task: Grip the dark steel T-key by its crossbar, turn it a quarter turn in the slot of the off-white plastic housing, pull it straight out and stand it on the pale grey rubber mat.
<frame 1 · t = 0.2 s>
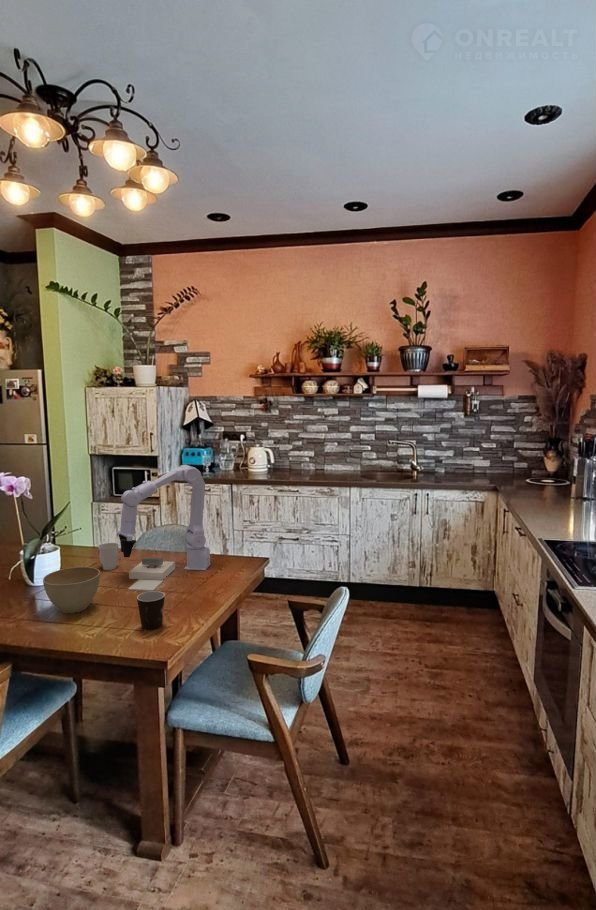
hand: (125, 554, 214), 10 cm above the table, tool pointing down, fingers open, 7 cm apart
cup: (109, 568, 229), on the table
brown bowl: (73, 609, 187), on the table
grey mat: (145, 586, 208), on the table
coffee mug: (149, 628, 172), on the table
t key: (152, 566, 222), in the key housing
key housing: (152, 573, 222), on the table
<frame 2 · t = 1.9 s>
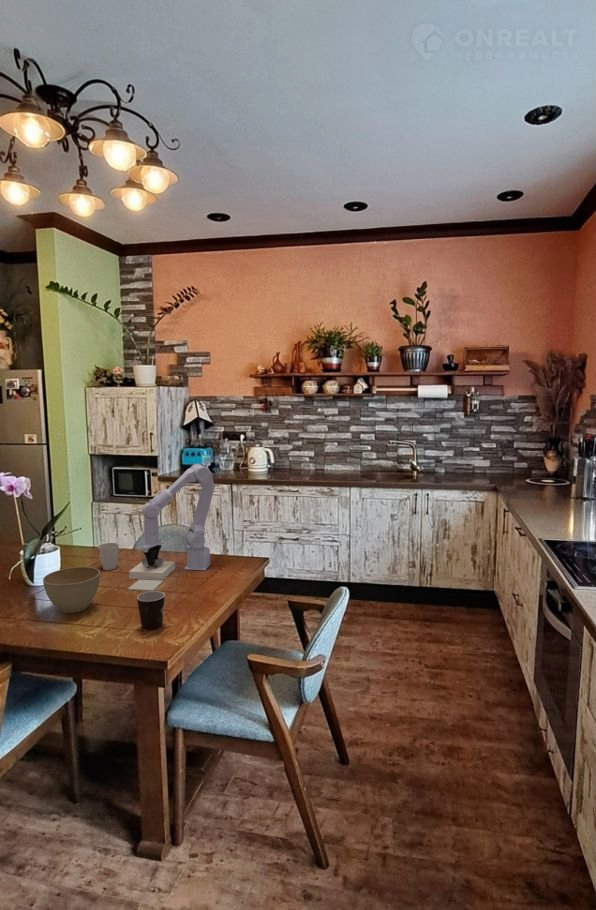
hand: (152, 564, 222), 4 cm above the table, tool pointing down, fingers closed on t key, 2 cm apart
t key: (152, 566, 222), in the key housing, touching gripper
everything else where it was.
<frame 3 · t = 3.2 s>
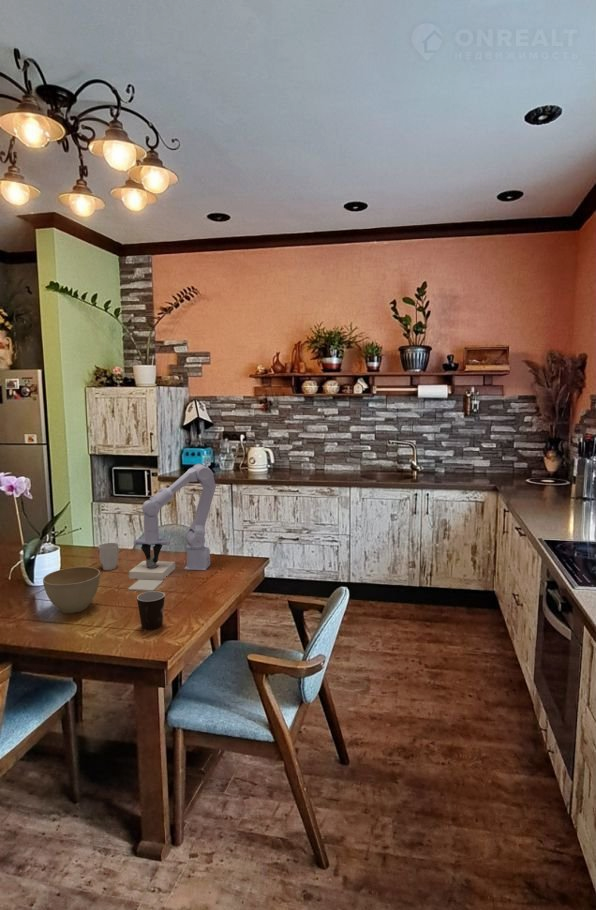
hand: (152, 561, 222), 5 cm above the table, tool pointing down, fingers closed on t key, 2 cm apart
t key: (152, 564, 222), in the key housing, point 4 cm above the table, touching gripper
everything else where it was.
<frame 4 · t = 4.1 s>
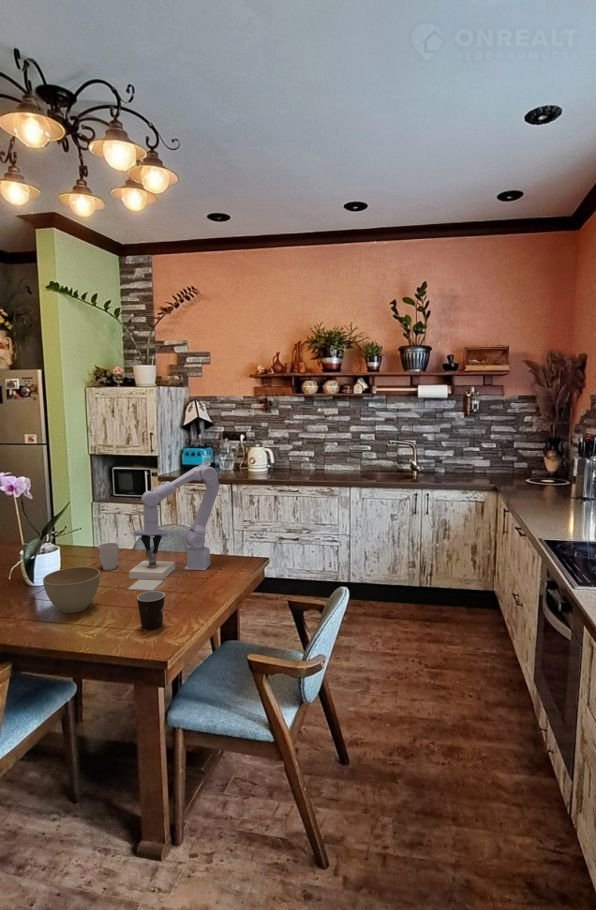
hand: (152, 553, 221), 9 cm above the table, tool pointing down, fingers closed on t key, 2 cm apart
t key: (152, 556, 222), point 7 cm above the table, touching gripper
everything else where it was.
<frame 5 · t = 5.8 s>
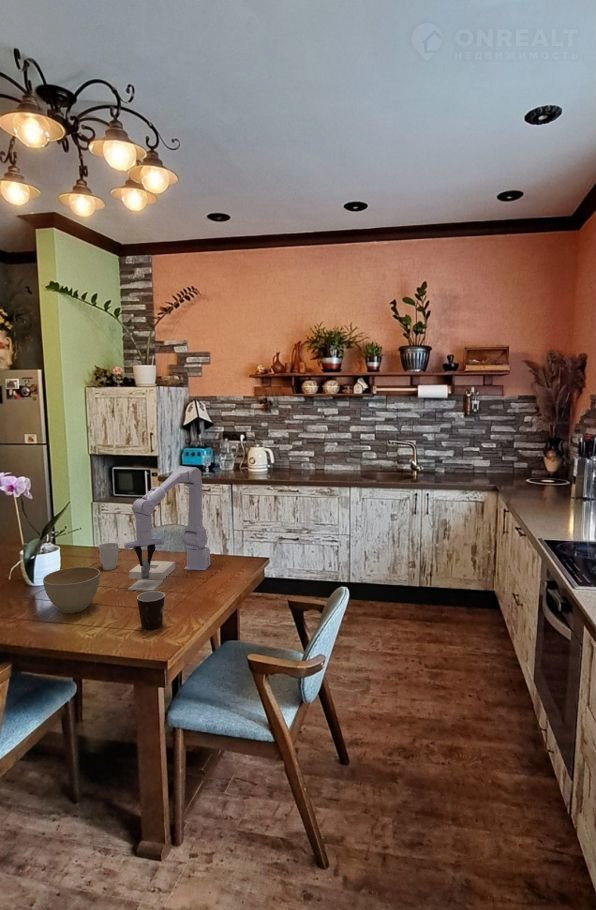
hand: (145, 564, 207), 9 cm above the table, tool pointing down, fingers closed on t key, 2 cm apart
t key: (145, 569, 207), point 7 cm above the table, touching gripper
everything else where it was.
when the fingers open (6 cm above the table, at t = 6.5 s): t key stays where it is, resting on grey mat.
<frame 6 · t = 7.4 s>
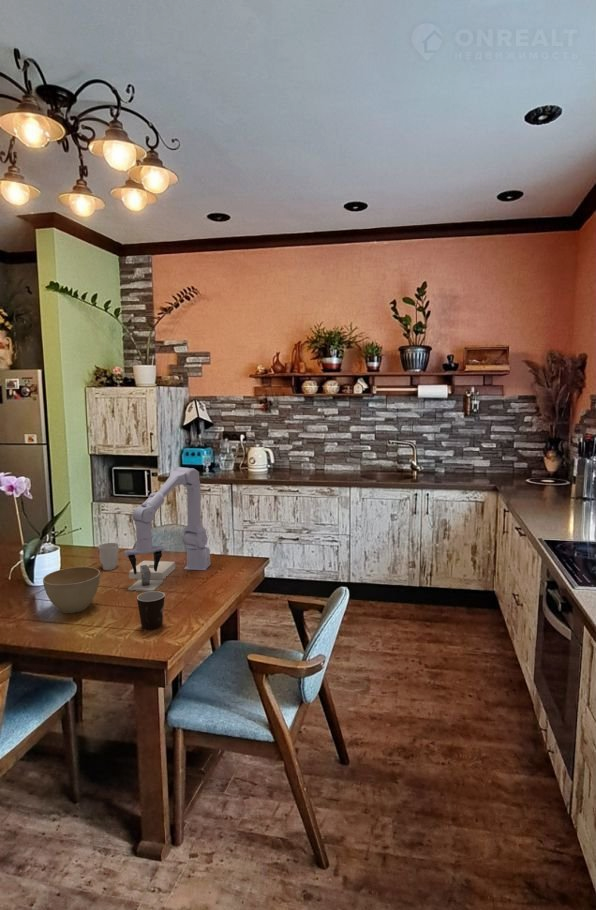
hand: (145, 572, 208), 6 cm above the table, tool pointing down, fingers open, 7 cm apart
t key: (145, 576, 208), on the grey mat, point 4 cm above the table
everything else where it was.
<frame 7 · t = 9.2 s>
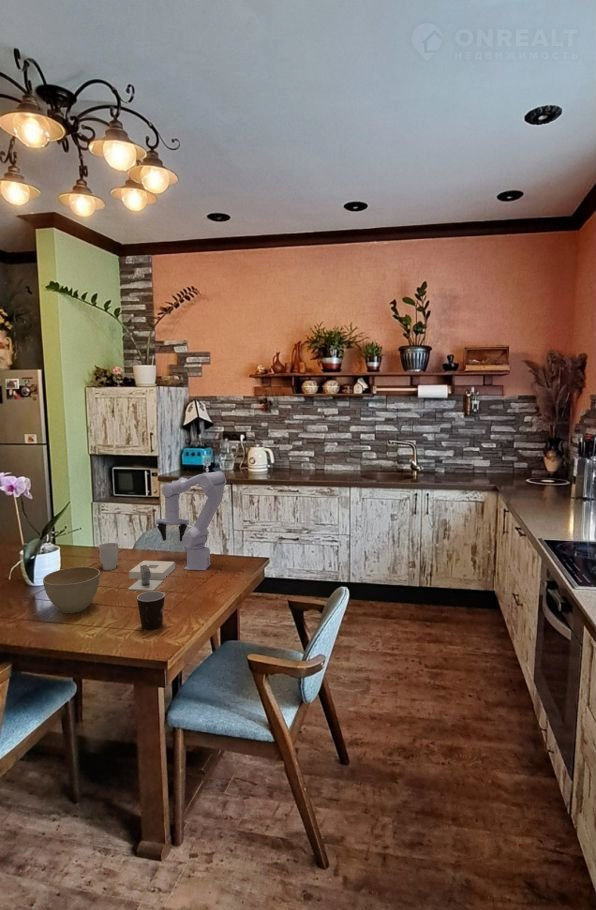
hand: (172, 540, 237), 10 cm above the table, tool pointing down, fingers open, 7 cm apart
nothing on the table moved.
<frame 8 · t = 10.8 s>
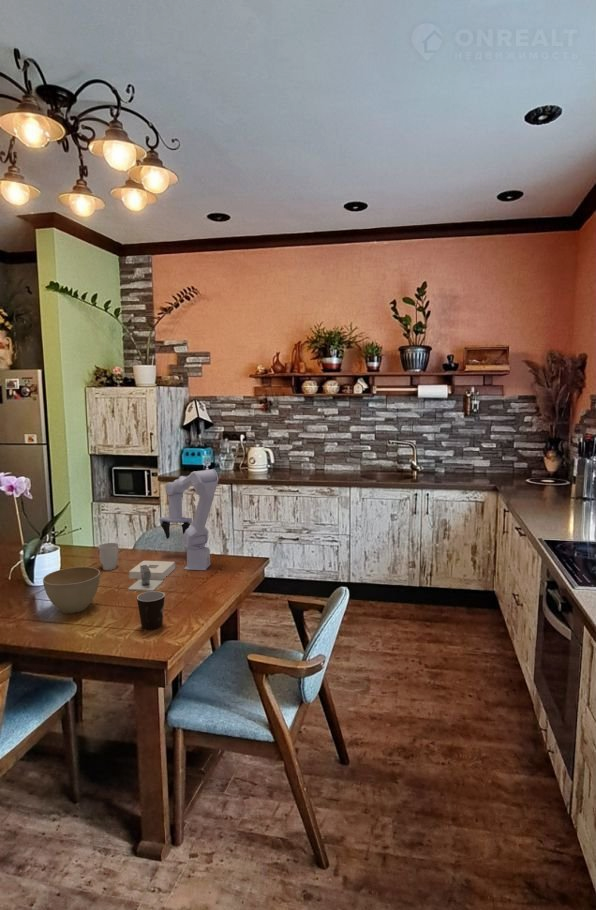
hand: (176, 538, 241), 9 cm above the table, tool pointing down, fingers open, 7 cm apart
nothing on the table moved.
at the end: t key inside the target area on the grey mat (0.1 cm from its centre), point 3.8 cm above the grey mat's base; t key moved 14.3 cm from its start; the gripper is holding nothing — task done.
